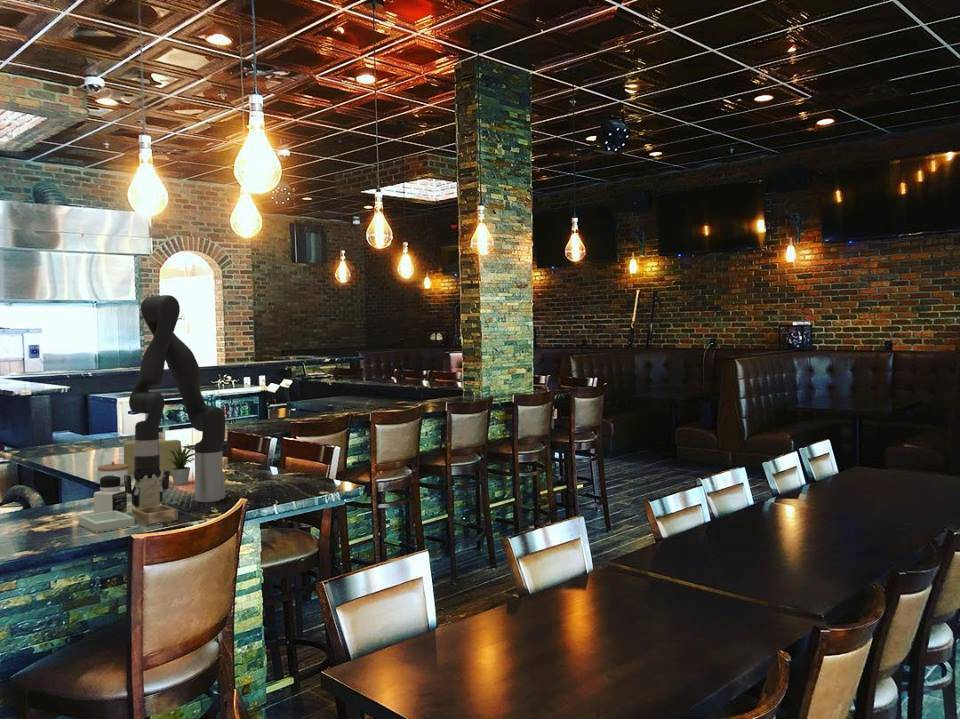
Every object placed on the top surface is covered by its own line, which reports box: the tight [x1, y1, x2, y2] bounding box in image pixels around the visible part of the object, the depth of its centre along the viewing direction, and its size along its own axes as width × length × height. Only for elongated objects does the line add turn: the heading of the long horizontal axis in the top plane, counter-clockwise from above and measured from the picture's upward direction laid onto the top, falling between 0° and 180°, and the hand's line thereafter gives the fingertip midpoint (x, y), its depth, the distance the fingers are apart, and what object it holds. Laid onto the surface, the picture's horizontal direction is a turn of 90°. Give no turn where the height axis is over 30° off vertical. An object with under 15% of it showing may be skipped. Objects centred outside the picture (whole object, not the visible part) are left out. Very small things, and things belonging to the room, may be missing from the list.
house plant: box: [166, 443, 195, 486], centre depth 300 cm, size 14×14×16 cm
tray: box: [78, 511, 135, 534], centre depth 233 cm, size 11×14×3 cm
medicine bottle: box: [93, 475, 128, 514], centre depth 251 cm, size 7×7×12 cm
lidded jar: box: [97, 461, 128, 487], centre depth 297 cm, size 11×11×9 cm
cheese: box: [123, 439, 183, 478], centre depth 318 cm, size 22×10×15 cm, turn 96°
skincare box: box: [134, 477, 161, 509], centre depth 248 cm, size 6×4×12 cm
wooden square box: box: [131, 504, 179, 527], centre depth 239 cm, size 10×10×4 cm
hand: (147, 504), depth 248 cm, fingers closed on skincare box, 6 cm apart
